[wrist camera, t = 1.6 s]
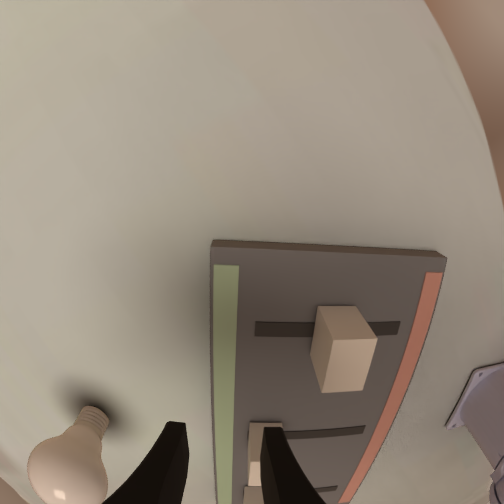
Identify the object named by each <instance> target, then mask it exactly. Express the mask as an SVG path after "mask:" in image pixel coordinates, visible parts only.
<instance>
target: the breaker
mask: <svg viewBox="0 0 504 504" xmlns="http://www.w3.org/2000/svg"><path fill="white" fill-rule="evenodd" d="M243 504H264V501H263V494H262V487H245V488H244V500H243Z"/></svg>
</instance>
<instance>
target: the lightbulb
mask: <svg viewBox="0 0 504 504" xmlns="http://www.w3.org/2000/svg"><path fill="white" fill-rule="evenodd" d="M108 424H109V419H108V417H107V416H106V414H105V413H104V412H102V411H101V410H100V409H98V408H96V407H93V406H85V407H83V408H82V410H81V412H80V414H79V416H78V417H77V419H76V421H75V423H74V424H73V425H72V426H70V427H69V428H68V429H67V430H66V431H65V432H64V433H63V434H61V435H59V436H56V437H52V438H49V439H47V440H44V441H42V442H41V443H39V444H38V445H37V446H36V447H35V448H34V449H33V450H32V452H31V454H30V456H29V459H28V464H27V472H28V477H29V481H30V483H31V486H32V488H33V489H34V491H35V492H36V494H37V495H38V496H39V497H40V499H41V500H42V501H44V502H45V503H46V504H102V503H103V501H104V499H105V497H106V495H107V491H108V478H107V474H106V470H105V467H104V465H103V462H102V459H101V452H102V442H101V441H102V438H103V435H104V433H105V431H106V429H107V426H108Z"/></svg>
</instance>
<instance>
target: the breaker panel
mask: <svg viewBox="0 0 504 504" xmlns="http://www.w3.org/2000/svg"><path fill="white" fill-rule="evenodd" d="M446 262H447V257H445V256H443V255H442V254H440V253H438V252H437V251H424V250H407V249H390V248H372V247H354V246H335V245H316V244H296V243H275V242H254V241H232V240H213V241H212V244H211V249H210V364H211V405H212V433H213V455H214V474H215V490H216V504H243V500H244V488H245V487H261V486H248V439H249V426H250V423H282V426H283V431H284V434H285V436H286V439H287V441H288V443H289V446H290V448H291V450H292V452H293V454H294V456H295V458H296V460H297V462H298V463H299V465H300V467H301V469H302V470H303V472H304V474H305V475H306V477H307V478H308V480H309V481H310V483H311V484H312V486H313V487H314V489H315V490H316V491H317V493H318V494H319V495H320V497H321V498H322V499H323V500H324V502H325V503H326V504H349V503H350V501H351V500H352V498H353V496H354V495H355V493H356V492H357V490H358V488H359V487H360V485H361V483H362V481H363V480H364V478H365V476H366V475H367V473H368V471H369V469H370V467H371V466H372V464H373V462H374V460H375V458H376V456H377V454H378V452H379V451H380V449H381V447H382V445H383V443H384V441H385V439H386V437H387V435H388V433H389V430H390V428H391V426H392V424H393V422H394V420H395V418H396V415H397V413H398V411H399V409H400V406H401V404H402V402H403V399H404V397H405V394H406V392H407V390H408V387H409V385H410V382H411V379H412V377H413V374H414V372H415V369H416V366H417V363H418V361H419V358H420V355H421V352H422V349H423V346H424V343H425V340H426V337H427V334H428V331H429V328H430V324H431V321H432V318H433V314H434V311H435V307H436V303H437V300H438V296H439V292H440V288H441V284H442V280H443V276H444V271H445V267H446ZM318 306H356V307H357V309H358V310H359V312H360V313H361V315H362V316H363V318H364V319H365V320H366V322H367V323H368V325H369V326H370V328H371V329H372V331H373V332H374V334H375V335H376V337H377V338H378V339H377V343H376V346H375V350H374V354H373V357H372V361H371V364H370V367H369V371H368V374H367V377H366V381H365V384H364V387H363V390H360V391H348V392H332V393H322V392H321V389H320V386H319V382H318V379H317V376H316V373H315V369H314V366H313V363H312V360H311V356H310V351H311V345H312V340H313V334H314V327H315V321H316V315H317V308H318Z"/></svg>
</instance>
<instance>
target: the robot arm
mask: <svg viewBox="0 0 504 504" xmlns="http://www.w3.org/2000/svg"><path fill="white" fill-rule="evenodd" d="M463 425H465V426H466V427H467V429H468V430H469V432H470V433H471V435H472V436H473V438H474V439H475V441H476V442H477V444H478V445H479V447H480V448H481V450H482V451H483V453H484V454H485V456H486V458H487V459H488V461H489V462H490V464H491V465H492V467H493V469H494V470H495V471H494V472H493V473H492V474H491V475H490V477H491V478H492V480H493V483H492V484H491V486H490V495H489V499H490V504H504V363H501V364H497V365H493V366H489V367H484V368H480V369H476V370H475V371H474V372H473V373H472V375H471V378H470V380H469V382H468V384H467V386H466V388H465V390H464V392H463V394H462V396H461V398H460V400H459V402H458V404H457V406H456V408H455V410H454V412H453V414H452V415H451V417H450V419H449V421H448V423H447V424H446V429H447V430H450V429H453V428H457V427H460V426H463ZM188 463H189V447H188V440H187V432H186V424H185V423H182V422H173V421H169V422H167V423H166V425H165V427H164V429H163V431H162V433H161V434H160V436H159V438H158V439H157V441H156V442H155V444H154V445H153V447H152V448H151V450H150V451H149V453H148V454H147V455H146V457H145V458H144V460H143V461H142V462H141V464H140V465H139V466H138V467H137V468H136V470H135V471H134V472H133V473H132V474H131V476H130V477H129V478H128V479H127V480H126V481H125V482H124V483H123V484H122V485H121V486H120V487H119V488H118V489H117V490H116V491H115V492H114V493H113V494H112V495H111V496H110V497H109V498H107V499H106V500H105V501H104V502H103V503H102V504H181V501H182V497H183V492H184V488H185V484H186V479H187V473H188ZM260 480H261V487H262V494H263V501H264V504H326V503H325V502H324V500H323V499H322V498H321V497H320V495H319V494H318V493H317V491H316V490H315V489H314V487H313V486H312V484H311V483H310V481H309V480H308V478H307V477H306V475H305V474H304V472H303V470H302V469H301V467H300V465H299V463H298V462H297V460H296V458H295V456H294V454H293V452H292V450H291V448H290V446H289V443H288V441H287V439H286V436H285V434H284V431H283V428H281V427H264V430H263V438H262V446H261V454H260Z"/></svg>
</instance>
